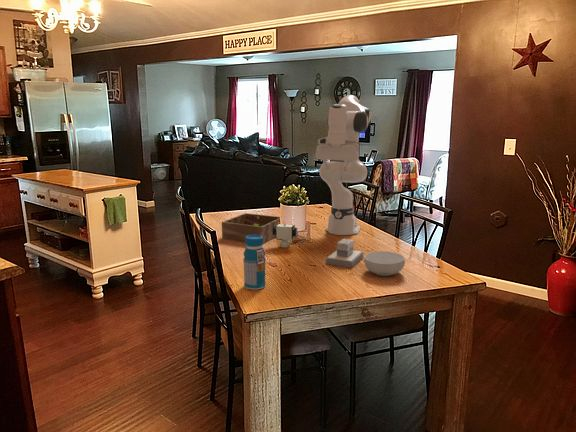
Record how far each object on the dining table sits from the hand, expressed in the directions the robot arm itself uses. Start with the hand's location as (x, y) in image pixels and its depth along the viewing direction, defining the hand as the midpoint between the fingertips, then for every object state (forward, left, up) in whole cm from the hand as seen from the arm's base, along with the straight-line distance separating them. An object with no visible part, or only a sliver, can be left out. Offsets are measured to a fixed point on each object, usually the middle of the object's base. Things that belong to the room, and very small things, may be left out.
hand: (336, 169), depth 222 cm
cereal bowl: (+22, +30, -39) cm, 54 cm away
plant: (-4, -48, -40) cm, 62 cm away
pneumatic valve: (+6, -24, -39) cm, 46 cm away
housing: (+14, +10, -36) cm, 40 cm away
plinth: (+14, +10, -39) cm, 43 cm away
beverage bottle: (+59, -11, -39) cm, 72 cm away
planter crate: (-4, -48, -39) cm, 62 cm away
